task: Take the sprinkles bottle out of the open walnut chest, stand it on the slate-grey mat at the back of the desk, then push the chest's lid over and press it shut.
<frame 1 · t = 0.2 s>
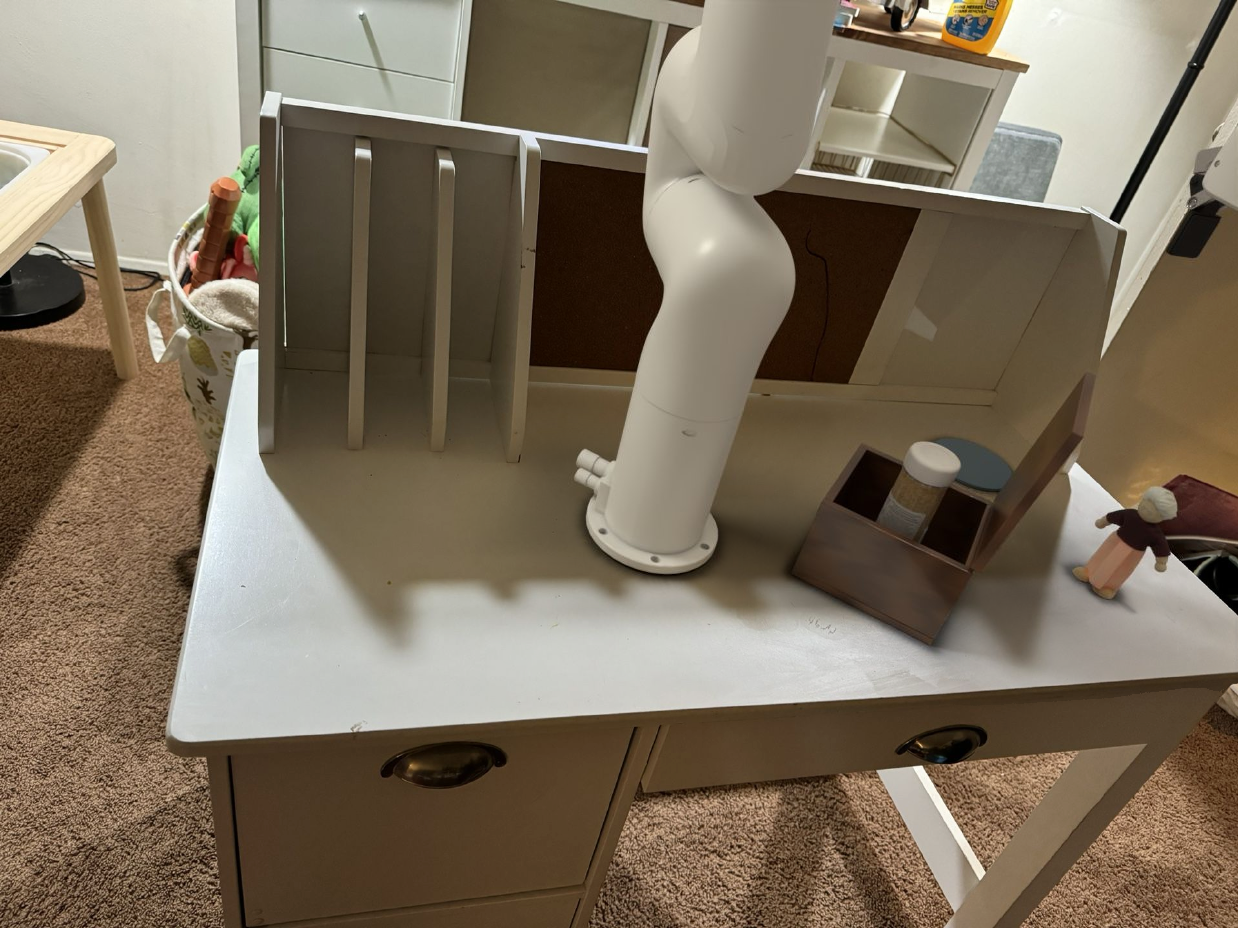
hand: (1218, 279, 76), 31 cm above the table, tool pointing down, fingers open, 9 cm apart
mat: (970, 465, 104), on the table
sprinkles bottle: (879, 567, 83), point 1 cm above the table, touching chest
grandmother figurine: (1097, 588, 89), on the table
chest lid: (1033, 471, 72), point 16 cm above the table, hinge at 95.0°
chest: (876, 572, 84), on the table
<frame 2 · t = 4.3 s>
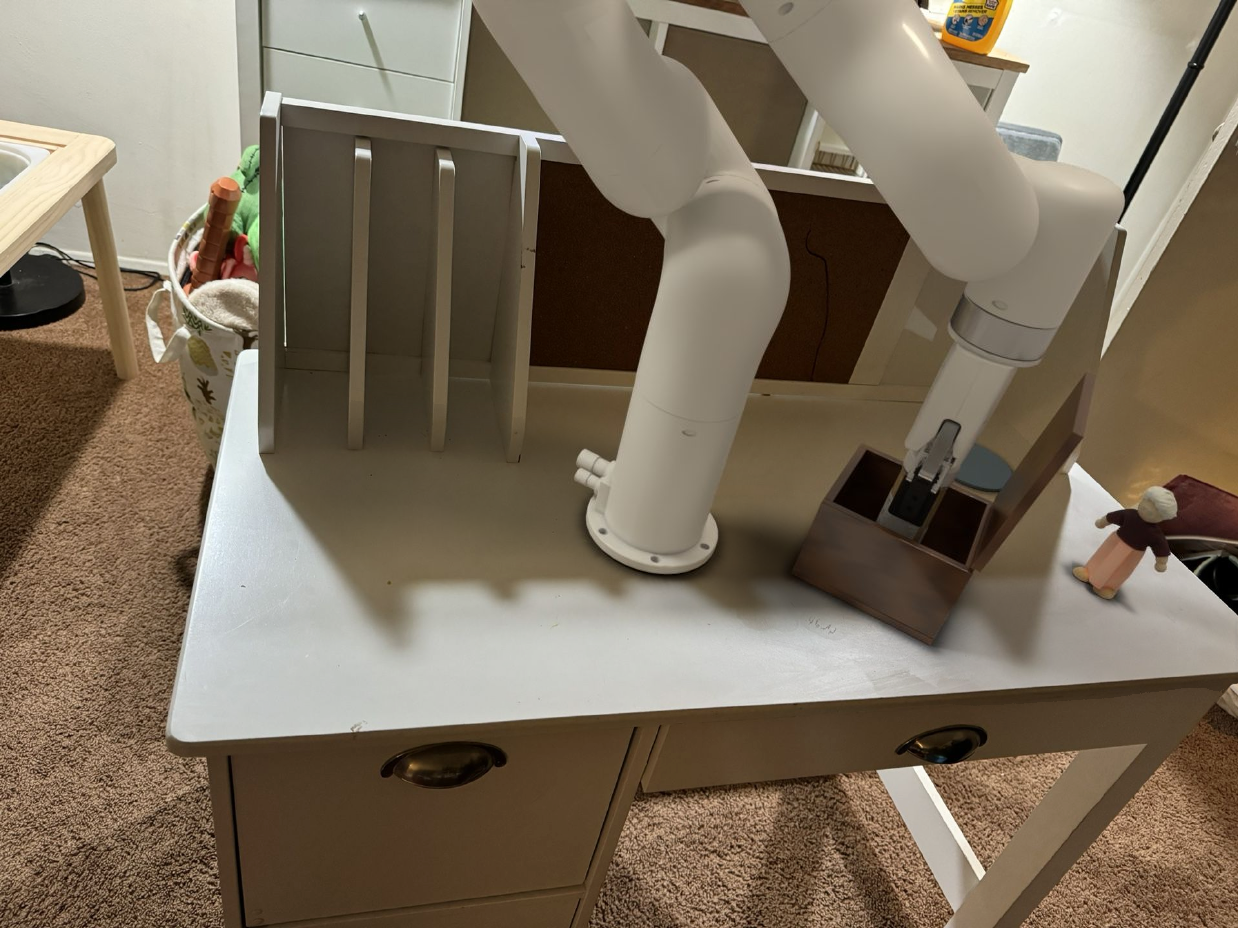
hand: (912, 502, 79), 9 cm above the table, tool pointing down, fingers closed on sprinkles bottle, 4 cm apart
sprinkles bottle: (879, 568, 83), point 1 cm above the table, touching chest, gripper
everything else where it was.
when the fingers open (8 cm above the table, at t = 15.0 s): sprinkles bottle stays where it is, resting on mat.
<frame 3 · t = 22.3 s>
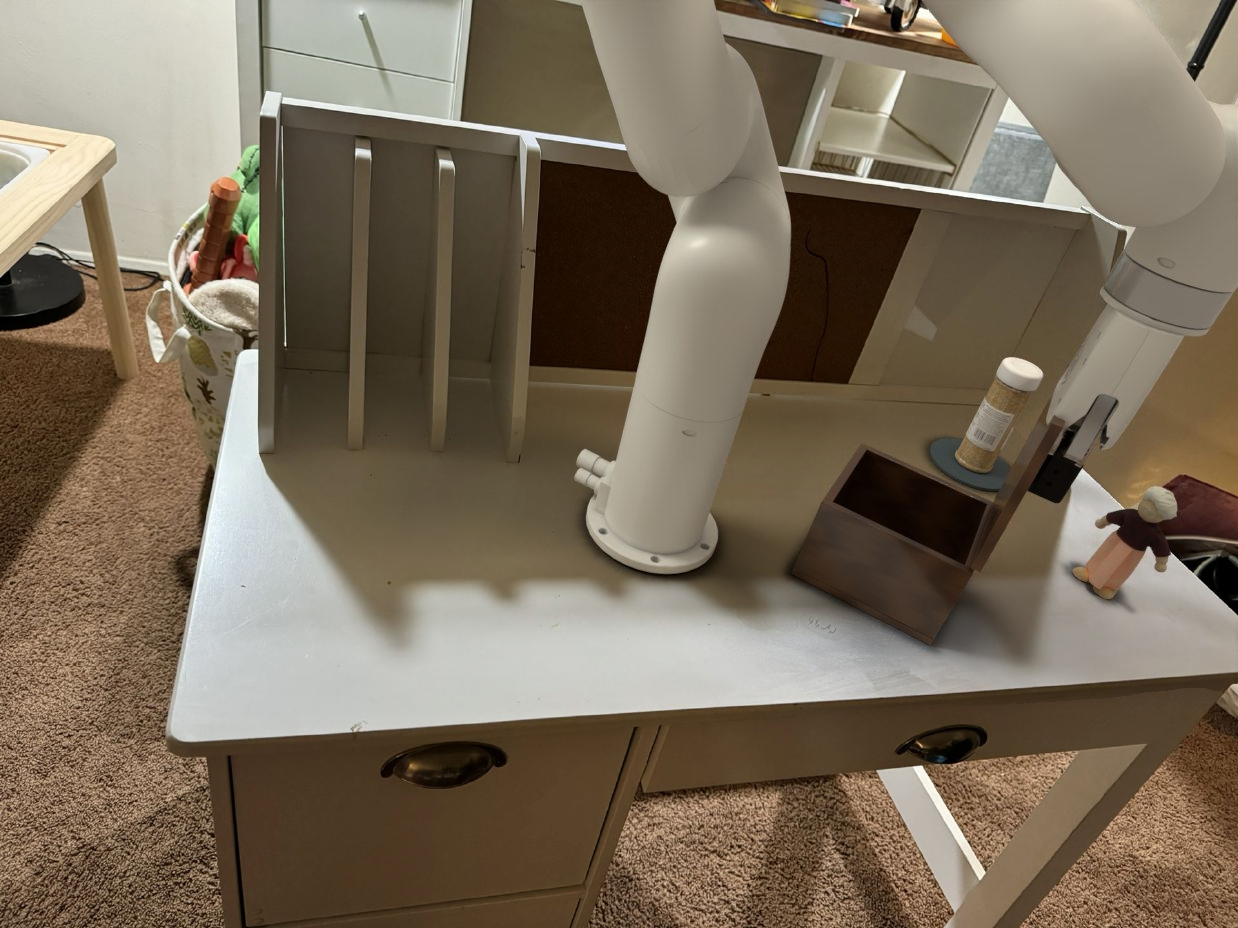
hand: (1040, 491, 72), 15 cm above the table, tool pointing down, fingers closed
sprinkles bottle: (971, 464, 103), resting on mat
chest lid: (1024, 467, 72), point 17 cm above the table, hinge at 88.9°, touching gripper
everything else where it was.
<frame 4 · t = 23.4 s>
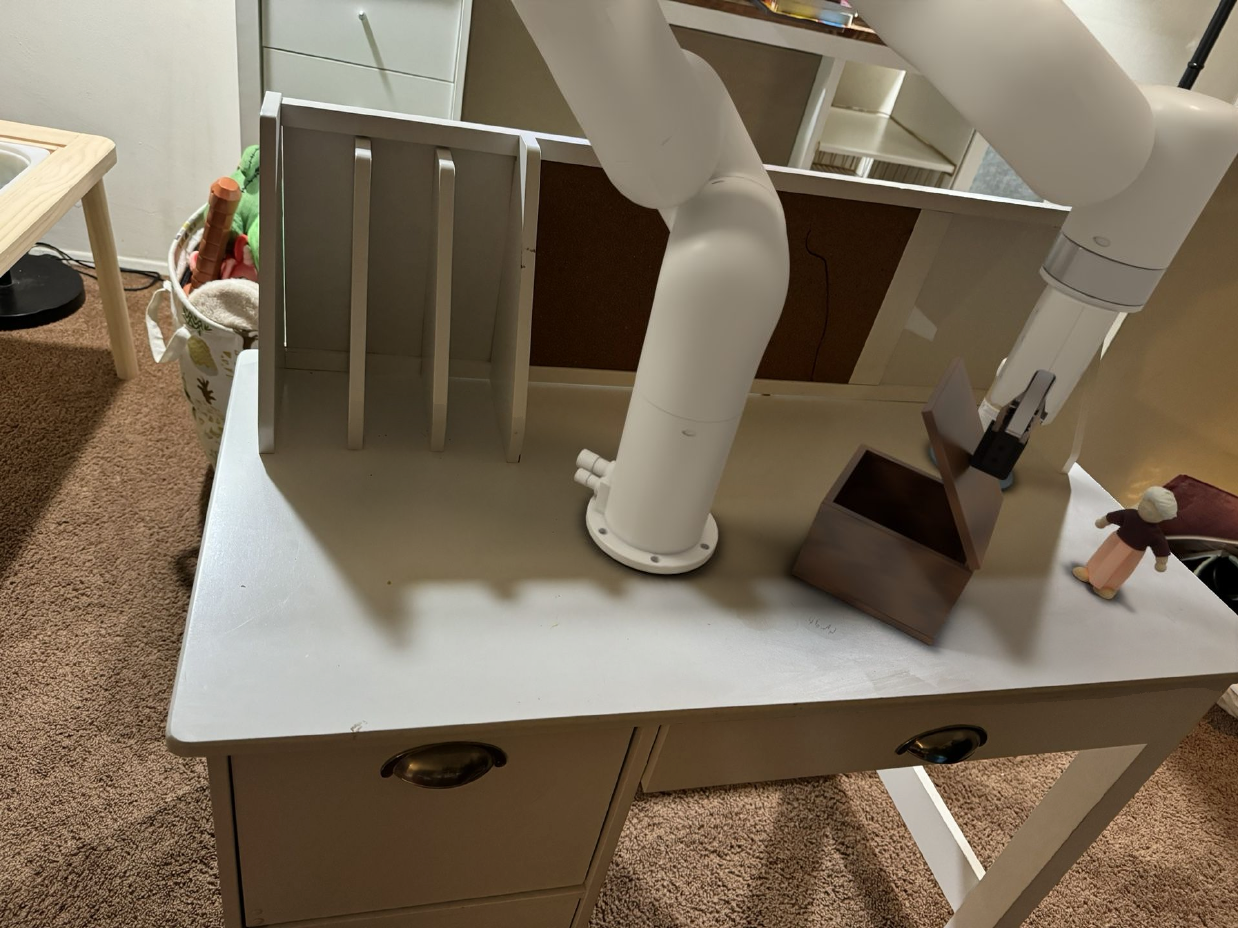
hand: (988, 468, 74), 15 cm above the table, tool pointing down, fingers closed
chest lid: (966, 459, 74), point 15 cm above the table, hinge at 51.7°
everything else where it was.
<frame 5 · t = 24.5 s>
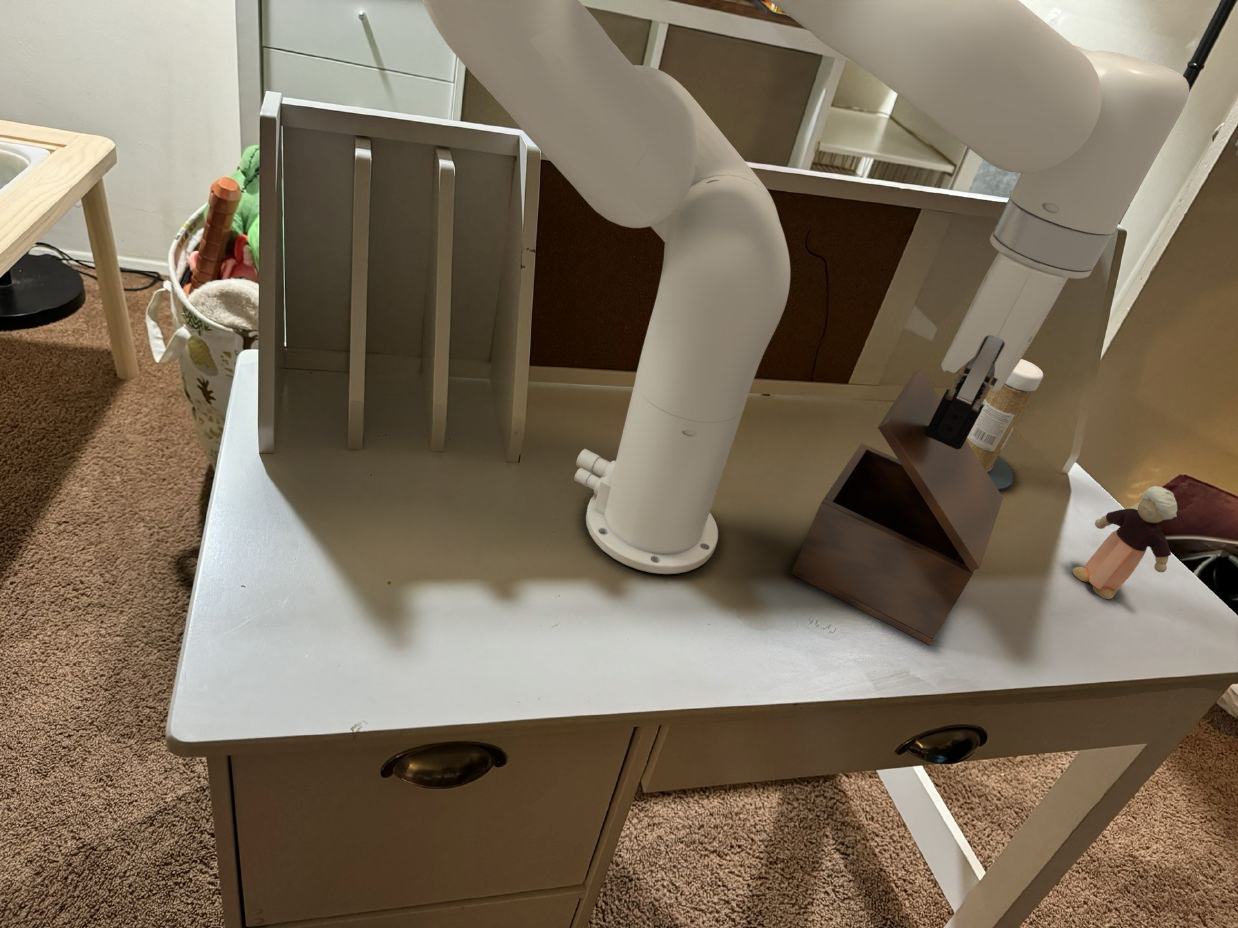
hand: (943, 438, 74), 16 cm above the table, tool pointing down, fingers closed
chest lid: (944, 465, 76), point 14 cm above the table, hinge at 36.8°
everything else where it was.
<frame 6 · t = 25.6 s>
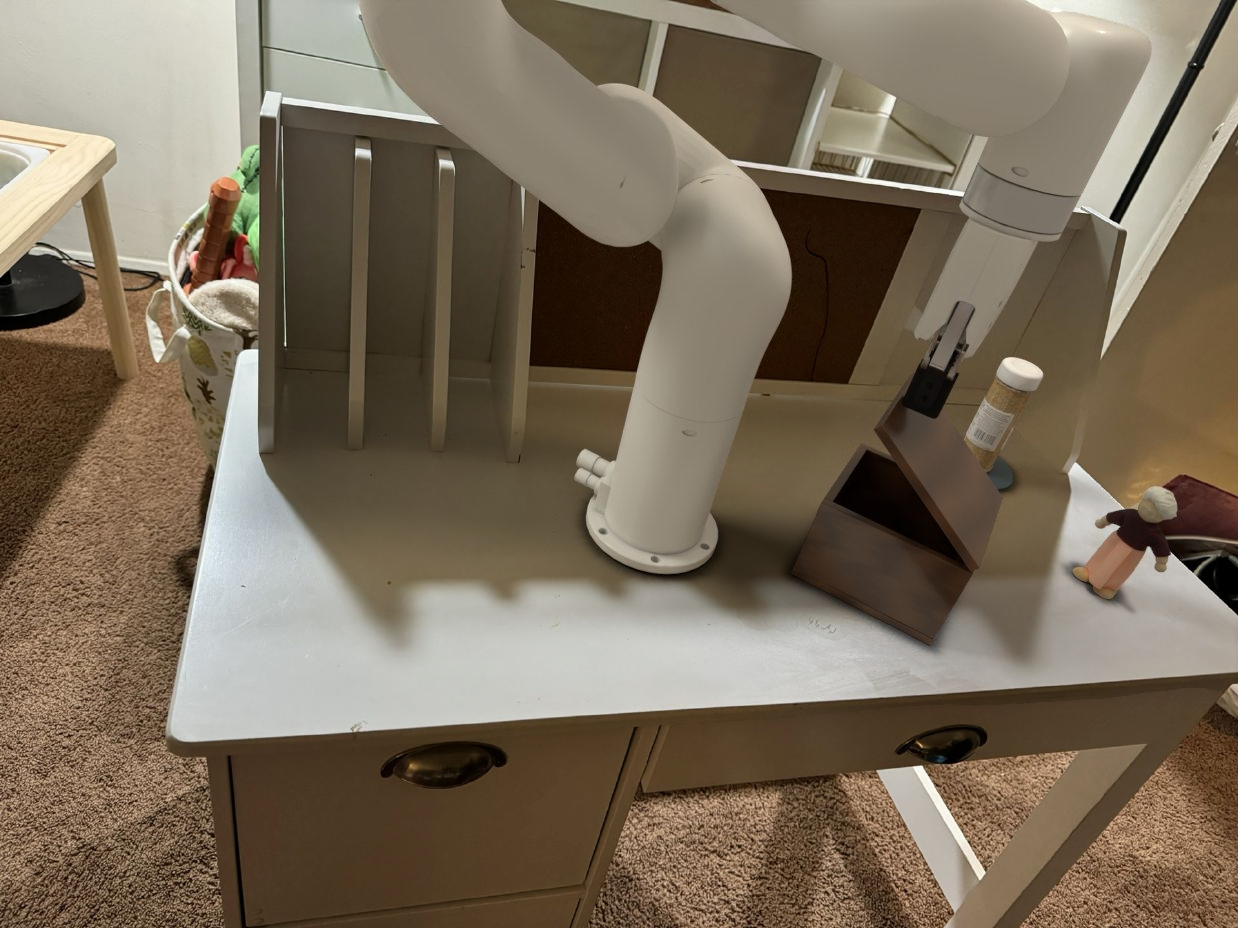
hand: (920, 408, 74), 18 cm above the table, tool pointing down, fingers closed
chest lid: (942, 466, 76), point 13 cm above the table, hinge at 35.2°
everything else where it was.
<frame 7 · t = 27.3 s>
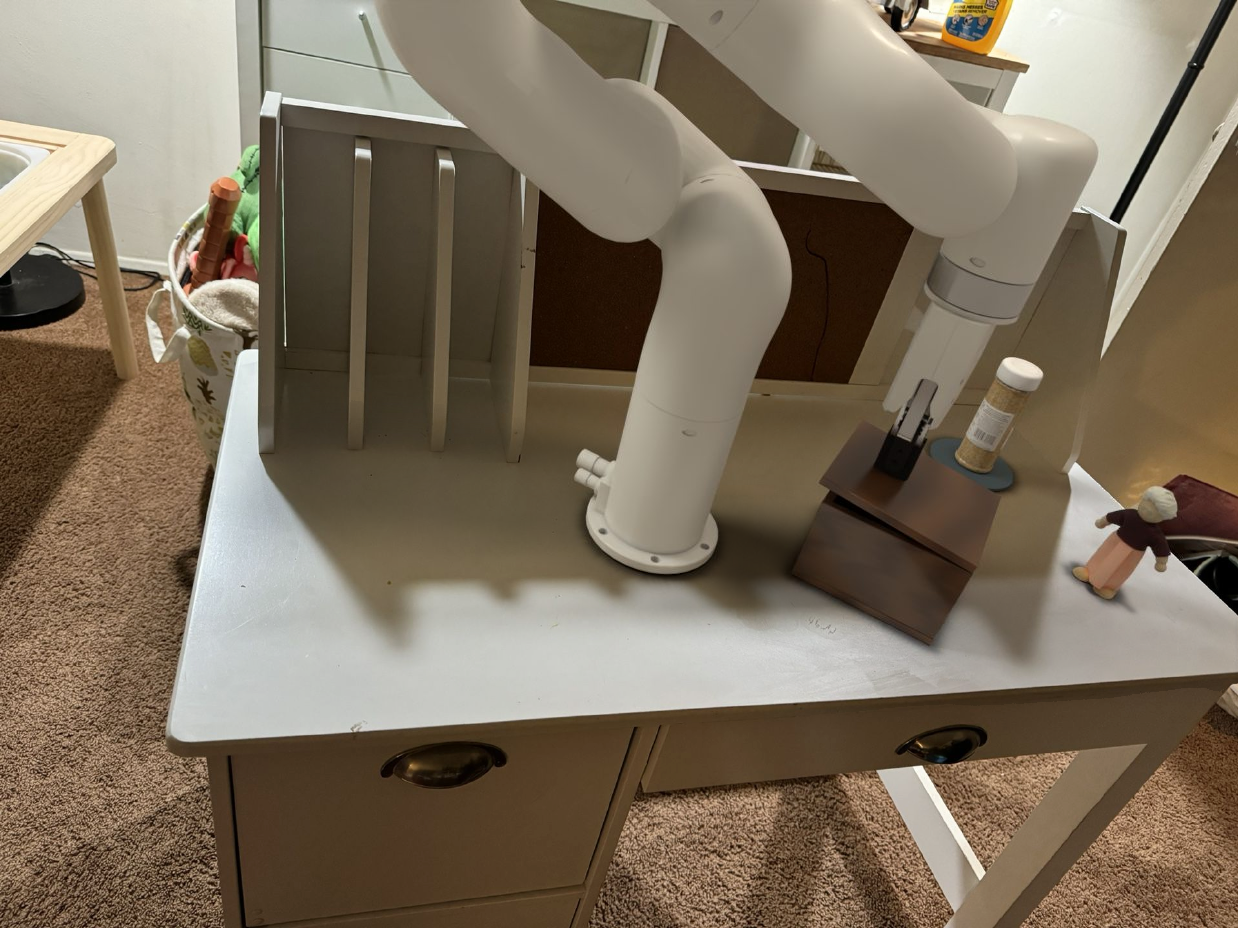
hand: (891, 470, 78), 11 cm above the table, tool pointing down, fingers closed
chest lid: (913, 490, 78), point 10 cm above the table, hinge at 5.9°, touching gripper
everything else where it was.
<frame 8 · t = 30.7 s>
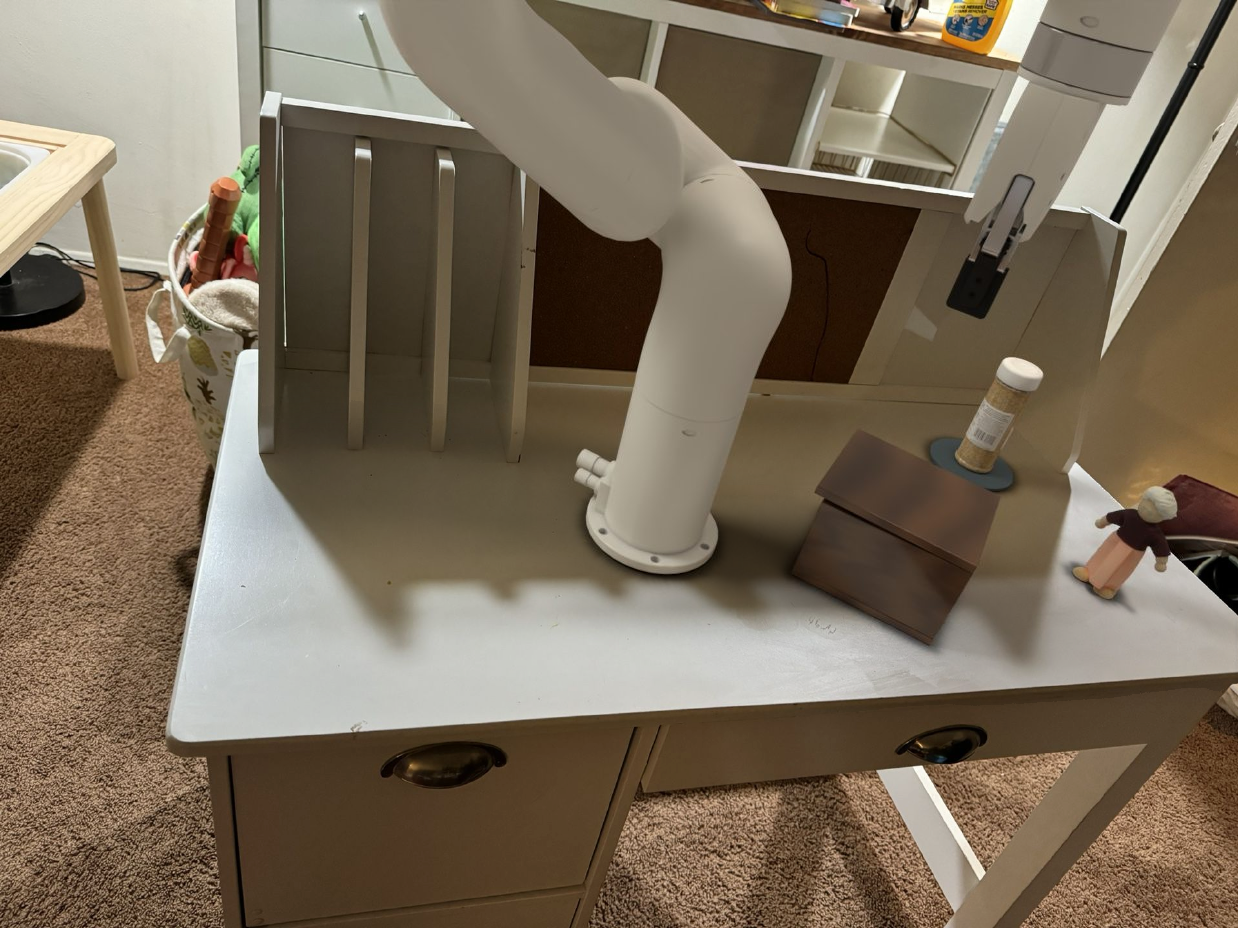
hand: (966, 309, 69), 27 cm above the table, tool pointing down, fingers closed
chest lid: (910, 494, 78), point 9 cm above the table, hinge at 1.6°
everything else where it was.
at the end: sprinkles bottle 0.1 cm off-centre on the mat, point 0.2 cm above the mat's base; sprinkles bottle tilted 0°; chest lid at +2° (first picture: +95°) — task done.
